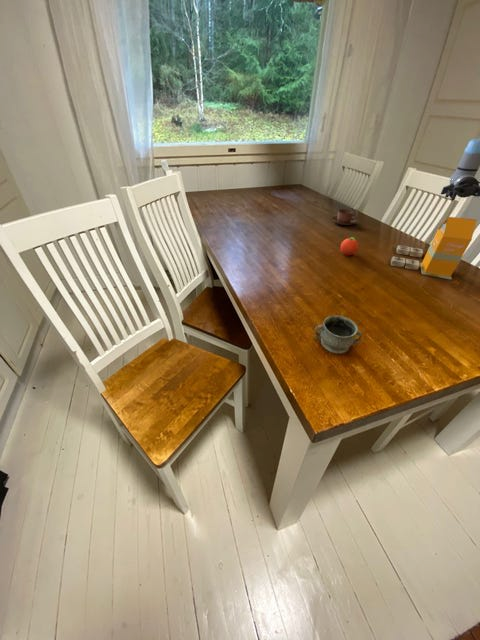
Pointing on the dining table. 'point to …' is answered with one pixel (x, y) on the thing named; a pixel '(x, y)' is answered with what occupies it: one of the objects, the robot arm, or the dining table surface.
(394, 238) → the dining table surface
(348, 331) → the vessel
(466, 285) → the dining table surface
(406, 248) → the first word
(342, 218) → the cup and saucer
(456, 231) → the orange juice
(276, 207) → the dining table surface
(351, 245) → the tomato
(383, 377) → the dining table surface
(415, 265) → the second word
